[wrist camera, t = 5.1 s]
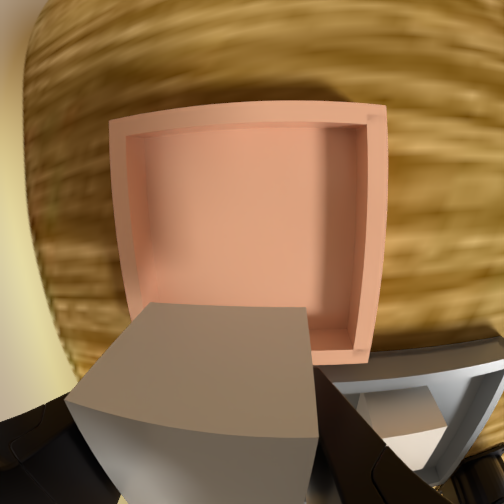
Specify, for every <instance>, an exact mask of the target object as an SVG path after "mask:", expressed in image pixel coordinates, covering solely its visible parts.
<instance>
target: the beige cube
mask: <svg viewBox="0 0 504 504" xmlns="http://www.w3.org/2000/svg"><path fill="white" fill-rule="evenodd" d="M356 410H357V412H358V413H359V414H360V415H361V416H362V417H363V418H364V419H365V421H366V422H367V423H368V424H369V425H370V426H371V427H372V428H373V429H374V431H375V432H376V433H377V434H378V435H379V436H380V437H381V438H382V439H383V441H384V442H385V443H386V444H387V445H386V446H389V447H390V448H391V449H392V450H393V451H394V453H395V454H396V455H397V456H398V457H399V458H400V459H401V460H402V461H403V462H404V463H405V464H406V465H407V466H408V467H409V468H410V469H411V470H412V471H415V470H419V469H423V467H424V465H425V464H426V462H427V461H428V459H429V458H430V456H431V454H432V453H433V451H434V449H435V448H436V446H437V444H438V443H439V441H440V439H441V437H442V436H443V434H444V432H445V430H446V428H447V424H446V422H445V420H444V418H443V416H442V414H441V412H440V410H439V408H438V406H437V404H436V402H435V400H434V398H433V396H432V394H431V392H430V390H429V388H428V386H427V385H426V386H420V387H413V388H405V389H397V390H388V391H378V392H367V393H360V397H359V401H358V405H357V409H356Z"/></svg>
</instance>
